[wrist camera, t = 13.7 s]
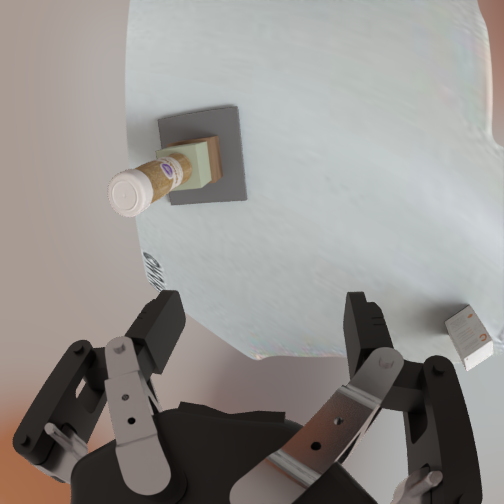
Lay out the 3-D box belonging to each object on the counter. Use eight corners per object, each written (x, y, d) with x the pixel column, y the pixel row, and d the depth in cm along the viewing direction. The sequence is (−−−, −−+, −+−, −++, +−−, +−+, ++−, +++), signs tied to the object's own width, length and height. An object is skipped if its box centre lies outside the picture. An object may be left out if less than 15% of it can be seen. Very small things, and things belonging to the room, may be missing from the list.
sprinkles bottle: (199, 166, 36) (152, 194, 24) (179, 190, 37) (130, 227, 26) (175, 145, 35) (119, 163, 23) (156, 170, 36) (99, 198, 25)
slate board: (237, 106, 41) (236, 106, 40) (247, 198, 48) (246, 200, 47) (160, 119, 43) (158, 119, 42) (173, 203, 50) (171, 205, 50)
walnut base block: (218, 135, 43) (209, 137, 38) (223, 176, 46) (215, 182, 41) (179, 141, 44) (166, 144, 39) (184, 179, 47) (173, 186, 43)
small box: (448, 335, 55) (466, 372, 44) (444, 321, 54) (463, 359, 42) (473, 319, 52) (493, 353, 41) (470, 303, 50) (492, 339, 39)
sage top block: (206, 141, 39) (195, 144, 34) (211, 179, 41) (201, 188, 37) (170, 146, 40) (155, 151, 35) (175, 183, 42) (162, 191, 38)
